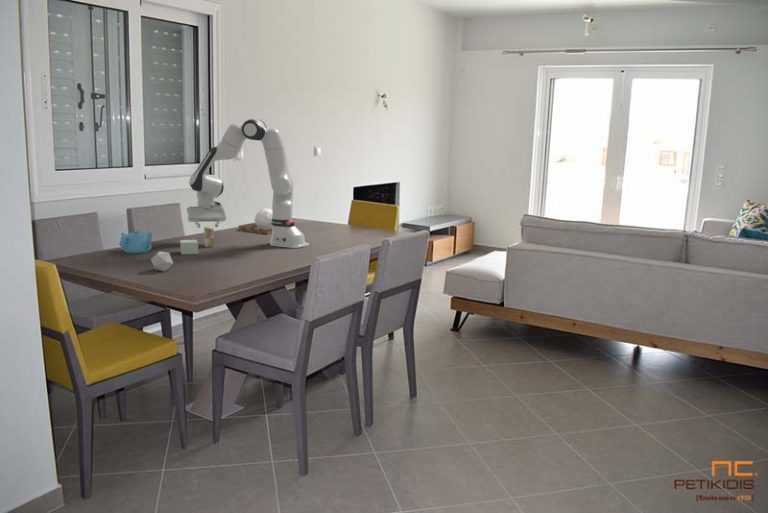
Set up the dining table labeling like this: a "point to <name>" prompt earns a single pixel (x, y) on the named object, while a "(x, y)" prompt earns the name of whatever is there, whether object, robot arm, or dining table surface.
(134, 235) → the teapot
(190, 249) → the sage cube
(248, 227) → the wooden rectangular frame
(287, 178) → the robot arm
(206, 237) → the beech block
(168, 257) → the die
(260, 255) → the dining table surface
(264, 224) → the geodesic sphere
